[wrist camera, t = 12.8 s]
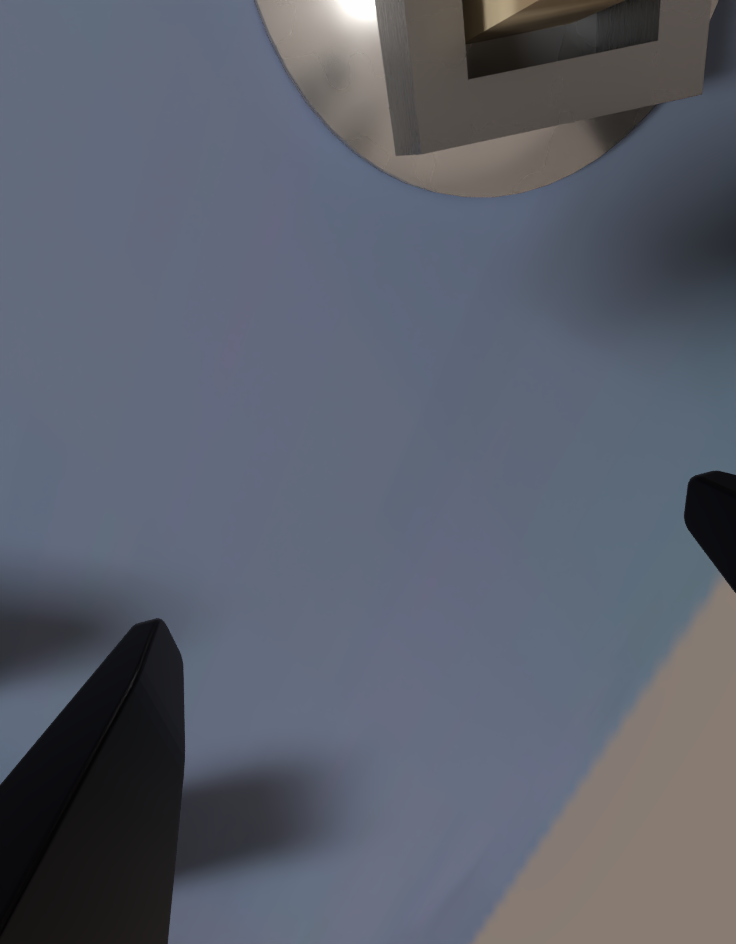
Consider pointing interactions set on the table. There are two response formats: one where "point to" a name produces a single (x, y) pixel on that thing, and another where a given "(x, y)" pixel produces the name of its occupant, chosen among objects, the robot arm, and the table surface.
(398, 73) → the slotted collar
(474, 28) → the light wood block
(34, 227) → the table surface
